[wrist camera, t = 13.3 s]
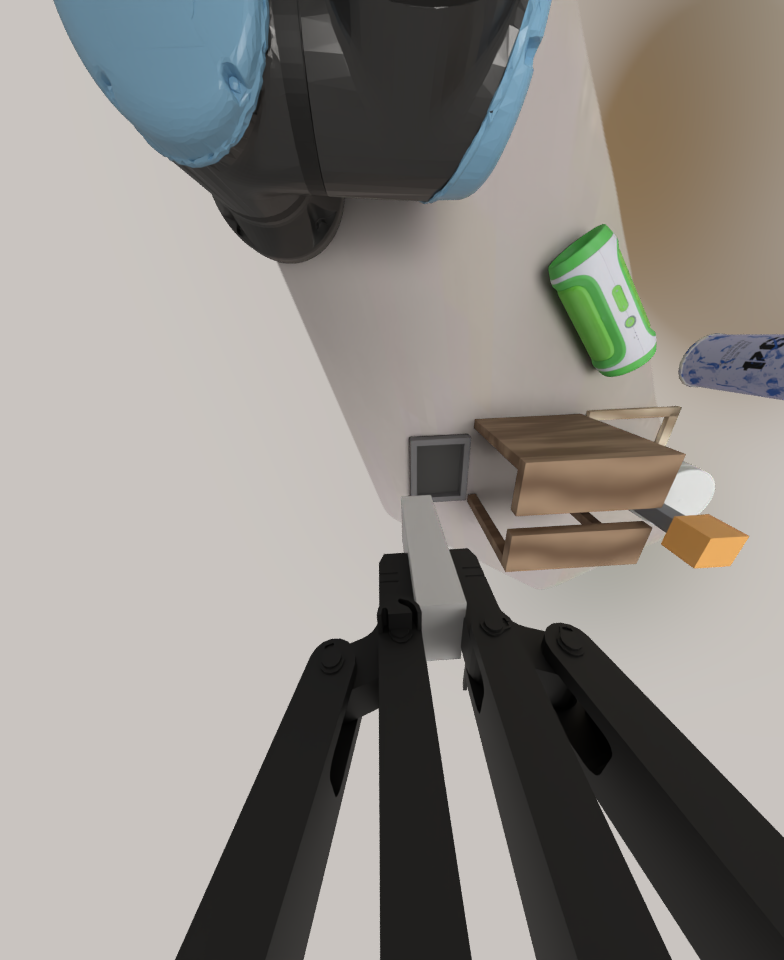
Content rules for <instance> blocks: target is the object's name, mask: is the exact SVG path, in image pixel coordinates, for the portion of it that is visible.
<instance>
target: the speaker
mask: <svg viewBox="0 0 784 960" xmlns="http://www.w3.org/2000/svg"><path fill="white" fill-rule="evenodd" d="M548 270H549V276H550V280H551V284H552V287H553V288H555V289H556V290H557V293H558V296H559V298H560V300H561V301H562V303H563V305H564V307H565V309H566V311H567V313H568V315H569V317H570V319H571V321H572V323H573V325H574V327H575V328H576V330H577V332H578V334H579V336H580V338H581V340H582V342H583V344H584V346H585V348H586V350H587V352H588V354H589V356H590V358H591V359H592V364H593V366H594V367H595V368H596V369H597V370H598V371H599V372H600V373H601V374H602V375H604V376H607V377H614V376H620V375H623V374H626V373H629V372H631V371H633V370H635V369H637V368H639V367H641V366H642V365H644V364H645V363H646V362H648V361H649V360H650V359H651V358H652V357H653V355H654V354H655V352H656V334H655V332H654V331H653V330H652V329H651V328H650V323H649V320H648V318H647V316H646V313H645V311H644V308H643V306H642V303H641V301H640V298H639V296H638V293H637V291H636V289H635V286H634V284H633V281H632V279H631V276H630V274H629V271H628V269H627V266H626V264H625V261H624V259H623V257H622V254H621V252H620V250H619V244H618V239H617V237H616V236H615V234H614V233H613V232H612V231H611V230H610V228H609V227H608V226H607V225H605V224H602V225H600V226H597V227H596V228H594V229H592V230H591V231H589V232H588V233H586V234H585V235H583V236H582V237H580V238H579V239H578V240H576V241H575V242H574V243H573V244H571V245H570V246H569V247H568V248H566V249H565V250H564V251H563V252H562V253H561V254H560V255H559V256H558V257H557V258H556V259H555V260H554V261H553V262H552V263H551V264H550V266H549V268H548Z"/></svg>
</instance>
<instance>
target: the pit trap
mask: <svg viewBox="0 0 784 960" xmlns="http://www.w3.org/2000/svg"><path fill="white" fill-rule="evenodd" d="M470 445H471V437H470V436H469V435H468V434H457V435H437V436H418V437H410V496H421V495H431V497H432V500H433V502H443V501H460V500H466V490H467V479H468V468H469V456H470Z"/></svg>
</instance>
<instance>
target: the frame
mask: <svg viewBox="0 0 784 960" xmlns="http://www.w3.org/2000/svg"><path fill="white" fill-rule="evenodd" d="M680 410H681V407H679V406H671V407H651V408H631V409H611V410H591V411H587V414H586V416H587V417H590V418H593V419H595V420H612V419H632V418H652V417H664V420H663V423H662V425H661V427H660V430H659V433H658V435H657V438H656V440H655V443H658V444H660V445H663V446H666V444H667V442H668V439H669V437H670V434H671V432H672V429H673V427H674V425H675V422H676V420H677V418H678V415H679V413H680Z"/></svg>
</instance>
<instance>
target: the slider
mask: <svg viewBox="0 0 784 960" xmlns="http://www.w3.org/2000/svg"><path fill="white" fill-rule="evenodd" d="M632 510H634V511H635V512H636V513H638V514H639V515H641V516H642V517H644V518H645V519H647V520H648V521H650V522H651V523H653V524H654V525H656V526H657V527H658V528H660V529H661V530H663V531H664V532H666V535H665V537H664V539H663V541H662V543H661V544H662V545H663V546H664V547H665V548H667V549H668V550H670V551H671V552H672V553H674V554H675V555H676V556H678V557H679V558H680V559H682V560H683V561H684V562H686V563H687V564H689V565H690V566H691V567H693V568H708V567H723V566H730V565H731V564H732V562H733V561H734V559H735V558H736V556H737V555H738V553H739V552H740V550H741V549H742V547H743V545H744V544H745V542H746V541H747V539H748V538H749V536H748V535H746V534H744V533H743V532H741V531H739V530H737V529H735V528H733V527H731V526H730V525H728V524H726V523H724V522H722V521H720V520H718V519H716V518H715V517H713V516H711V515H709V514H705V515H688V516H685V515H683V514H682V513H680V512H678V511H677V510H675V509H673V508H671V507H670V506H668V505H666V504H665V503H664V504H663V506H662V508H649V509H632Z"/></svg>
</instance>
